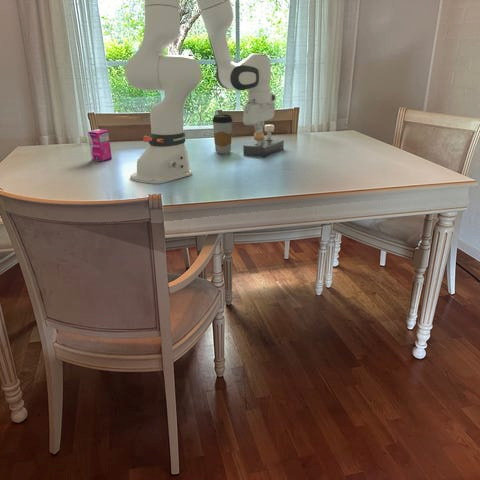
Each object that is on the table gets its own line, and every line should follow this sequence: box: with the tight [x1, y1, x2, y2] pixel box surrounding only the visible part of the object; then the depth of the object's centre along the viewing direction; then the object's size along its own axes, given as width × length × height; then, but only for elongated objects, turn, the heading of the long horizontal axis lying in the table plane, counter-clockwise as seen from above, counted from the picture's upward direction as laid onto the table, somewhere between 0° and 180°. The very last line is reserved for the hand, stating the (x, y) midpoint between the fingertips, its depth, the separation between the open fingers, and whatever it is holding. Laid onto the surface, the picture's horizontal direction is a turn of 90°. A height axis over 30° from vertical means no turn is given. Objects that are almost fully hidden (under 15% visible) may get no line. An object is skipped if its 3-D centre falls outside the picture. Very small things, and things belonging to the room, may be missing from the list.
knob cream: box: [264, 124, 275, 142], centre depth 190 cm, size 4×4×7 cm
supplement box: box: [87, 128, 113, 163], centre depth 176 cm, size 6×6×12 cm
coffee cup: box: [211, 113, 234, 155], centre depth 186 cm, size 8×8×15 cm
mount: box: [242, 137, 285, 159], centre depth 188 cm, size 17×10×4 cm, turn 149°
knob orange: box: [253, 132, 265, 146], centre depth 183 cm, size 4×4×7 cm
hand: (258, 133), depth 182 cm, fingers closed, pressing on knob orange
